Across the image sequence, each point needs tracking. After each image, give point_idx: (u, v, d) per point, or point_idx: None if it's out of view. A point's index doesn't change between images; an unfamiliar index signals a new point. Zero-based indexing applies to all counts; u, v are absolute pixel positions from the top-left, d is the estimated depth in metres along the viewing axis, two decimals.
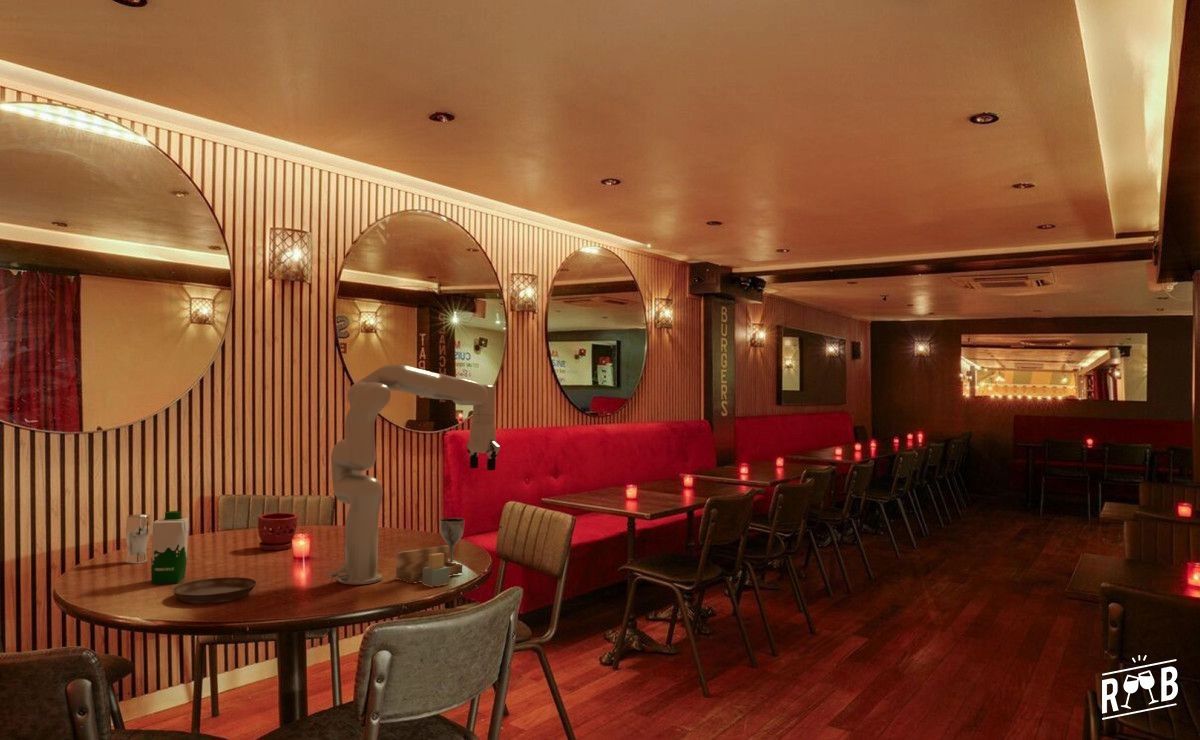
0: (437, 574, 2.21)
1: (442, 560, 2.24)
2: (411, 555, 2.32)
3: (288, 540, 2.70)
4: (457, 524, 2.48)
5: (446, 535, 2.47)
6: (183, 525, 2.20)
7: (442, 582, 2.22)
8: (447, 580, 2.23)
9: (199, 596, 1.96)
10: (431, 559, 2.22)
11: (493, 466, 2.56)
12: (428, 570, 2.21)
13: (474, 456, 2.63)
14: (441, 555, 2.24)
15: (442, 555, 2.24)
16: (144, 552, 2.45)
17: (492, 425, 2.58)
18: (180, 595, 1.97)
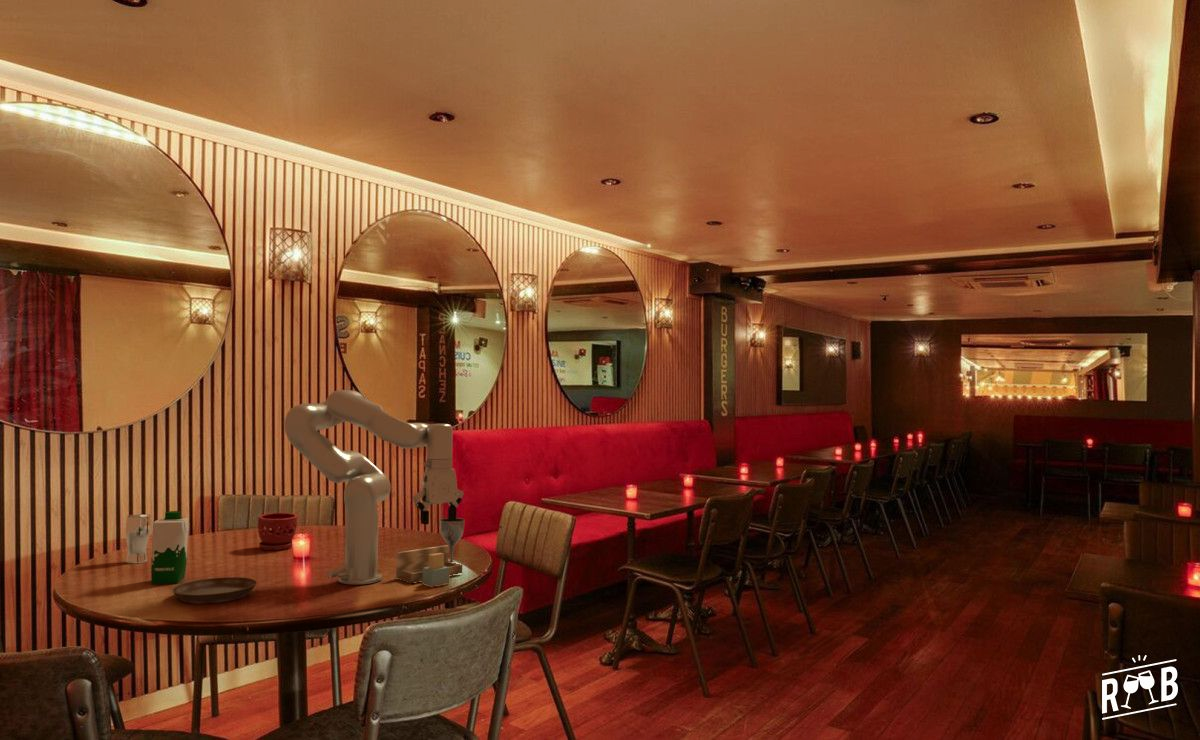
0: (437, 574, 2.21)
1: (442, 560, 2.24)
2: (411, 555, 2.32)
3: (288, 540, 2.70)
4: (457, 524, 2.48)
5: (446, 535, 2.47)
6: (183, 525, 2.20)
7: (442, 582, 2.22)
8: (447, 580, 2.23)
9: (199, 596, 1.96)
10: (431, 559, 2.22)
11: None
12: (428, 570, 2.21)
13: None
14: (441, 555, 2.24)
15: (442, 555, 2.24)
16: (144, 552, 2.45)
17: None
18: (180, 595, 1.97)
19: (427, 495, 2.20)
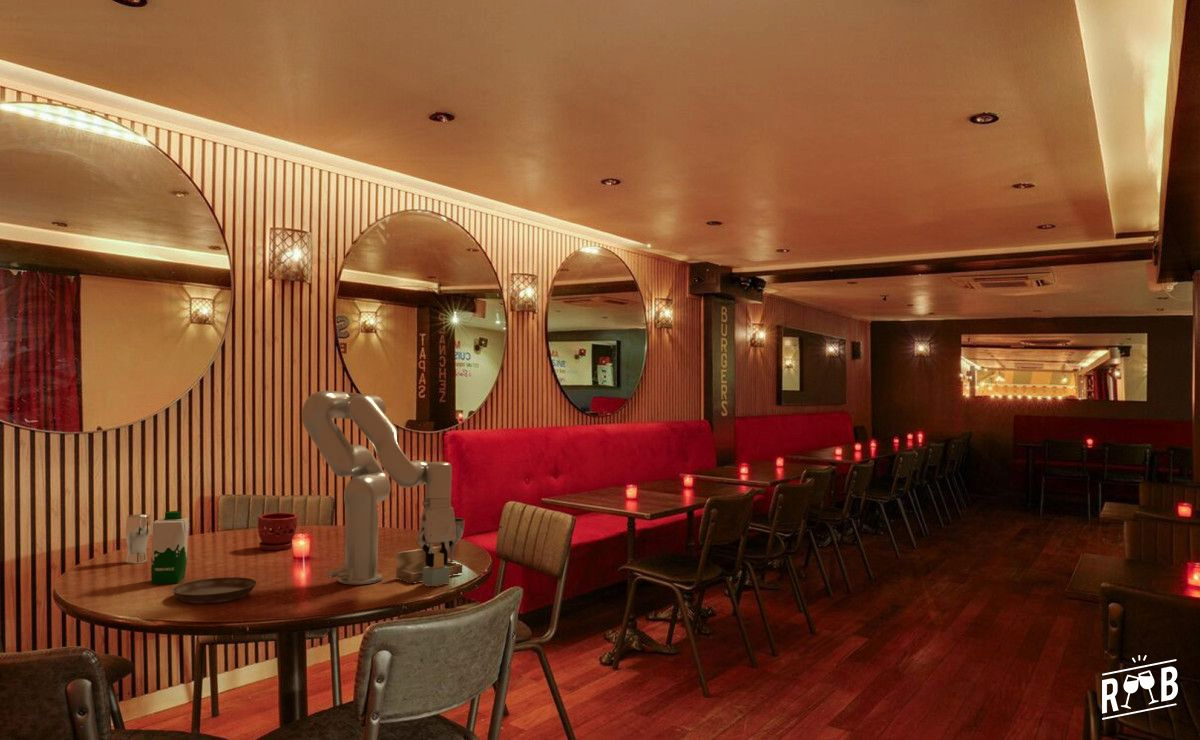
0: (437, 573, 2.21)
1: (442, 560, 2.24)
2: (411, 555, 2.32)
3: (288, 540, 2.70)
4: (457, 524, 2.48)
5: None
6: (183, 525, 2.20)
7: (442, 582, 2.22)
8: (447, 580, 2.23)
9: (199, 596, 1.96)
10: None
11: None
12: (428, 570, 2.21)
13: None
14: (441, 555, 2.24)
15: (442, 555, 2.24)
16: (144, 552, 2.45)
17: None
18: (180, 595, 1.97)
19: (425, 535, 2.19)
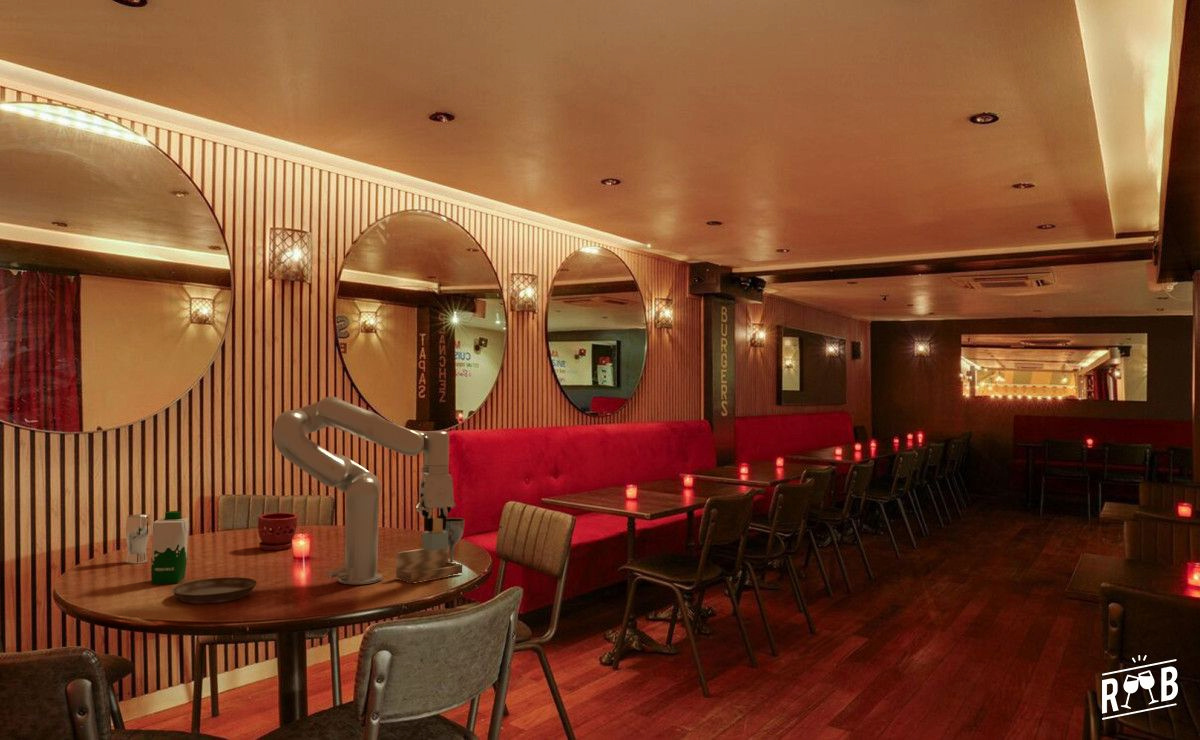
0: (436, 537, 2.29)
1: (441, 525, 2.32)
2: (411, 555, 2.32)
3: (288, 540, 2.70)
4: (457, 524, 2.48)
5: None
6: (183, 525, 2.20)
7: (441, 546, 2.31)
8: (446, 544, 2.32)
9: (199, 596, 1.96)
10: None
11: None
12: (428, 534, 2.29)
13: None
14: (440, 520, 2.32)
15: (441, 520, 2.32)
16: (144, 552, 2.45)
17: None
18: (180, 595, 1.97)
19: (424, 500, 2.28)
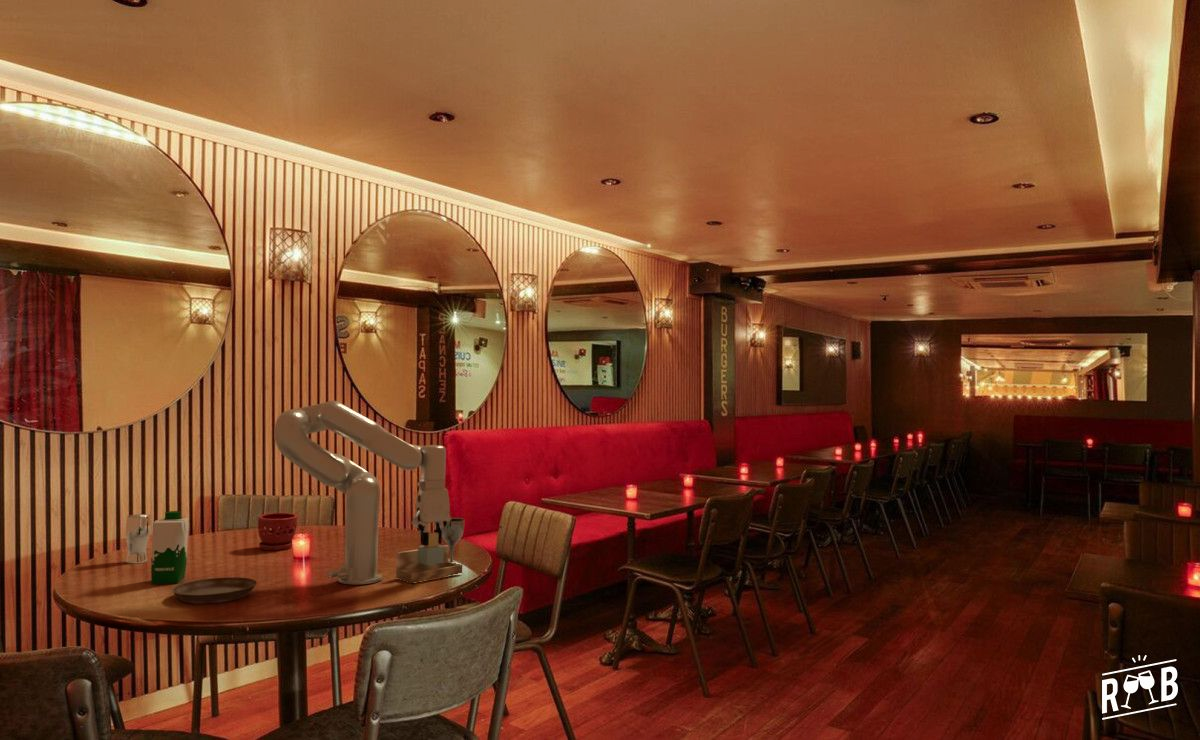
0: (432, 552, 2.30)
1: (437, 539, 2.33)
2: (411, 555, 2.32)
3: (288, 540, 2.70)
4: (457, 524, 2.48)
5: (446, 535, 2.47)
6: (183, 525, 2.20)
7: (437, 560, 2.31)
8: (442, 558, 2.33)
9: (199, 596, 1.96)
10: None
11: None
12: (423, 548, 2.30)
13: None
14: (435, 534, 2.33)
15: (437, 534, 2.33)
16: (144, 552, 2.45)
17: None
18: (180, 595, 1.97)
19: (420, 514, 2.29)
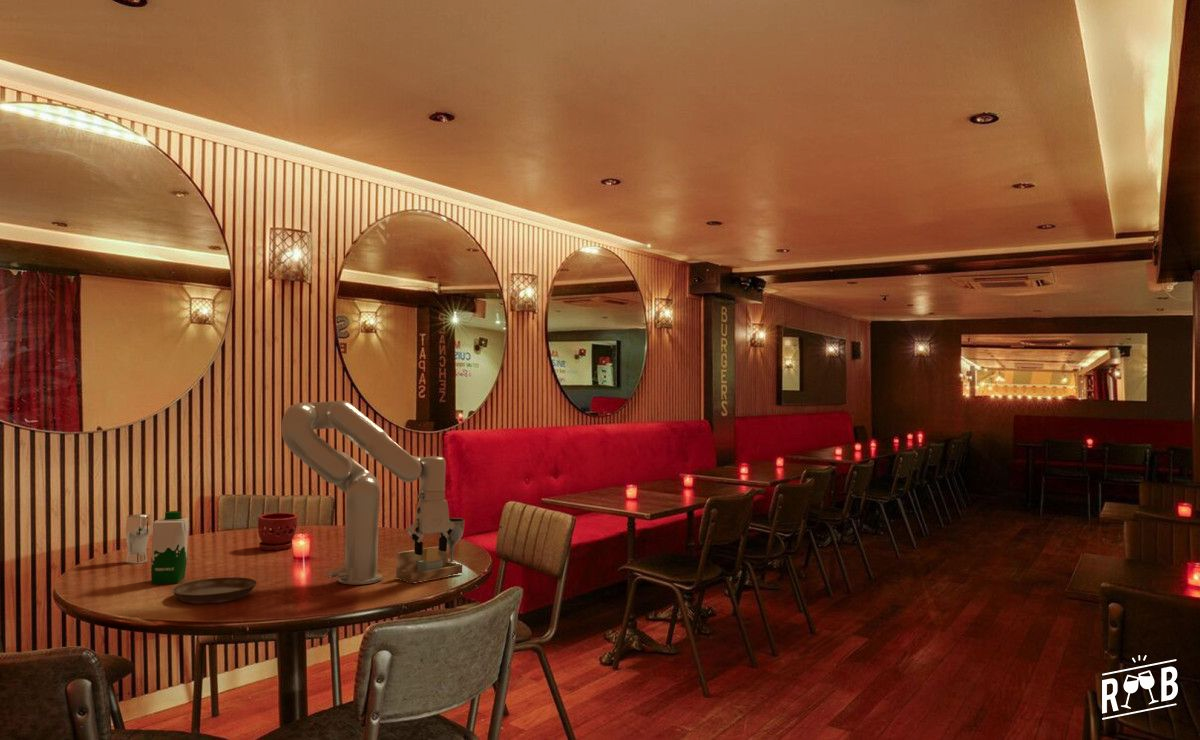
0: (431, 567, 2.30)
1: (436, 554, 2.33)
2: (411, 555, 2.32)
3: (288, 540, 2.70)
4: (457, 524, 2.48)
5: None
6: (183, 525, 2.20)
7: None
8: None
9: (199, 596, 1.96)
10: (425, 553, 2.31)
11: None
12: (422, 563, 2.30)
13: None
14: (434, 549, 2.33)
15: (436, 549, 2.33)
16: (144, 552, 2.45)
17: None
18: (180, 595, 1.97)
19: (420, 526, 2.28)
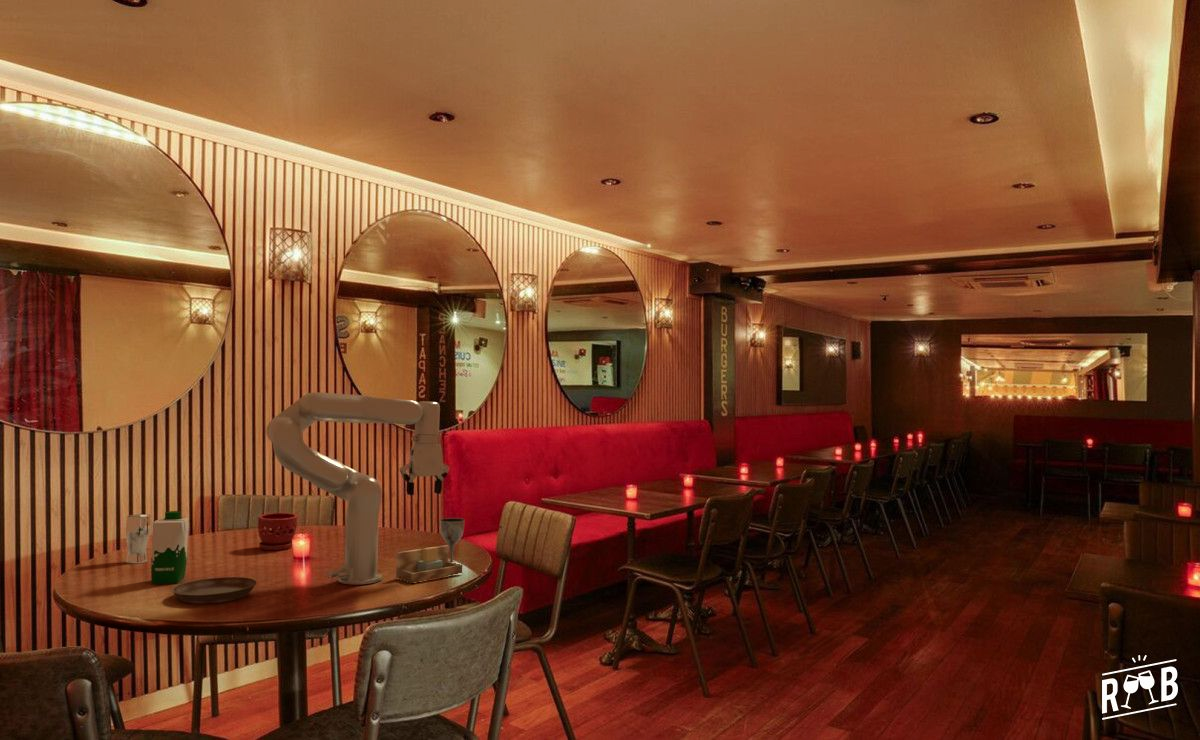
0: (431, 567, 2.30)
1: (436, 554, 2.33)
2: (411, 555, 2.32)
3: (288, 540, 2.70)
4: (457, 524, 2.48)
5: (446, 535, 2.47)
6: (183, 525, 2.20)
7: None
8: None
9: (199, 596, 1.96)
10: (425, 553, 2.31)
11: None
12: (422, 563, 2.30)
13: None
14: (434, 549, 2.33)
15: (436, 549, 2.33)
16: (144, 552, 2.45)
17: None
18: (180, 595, 1.97)
19: (413, 468, 2.34)
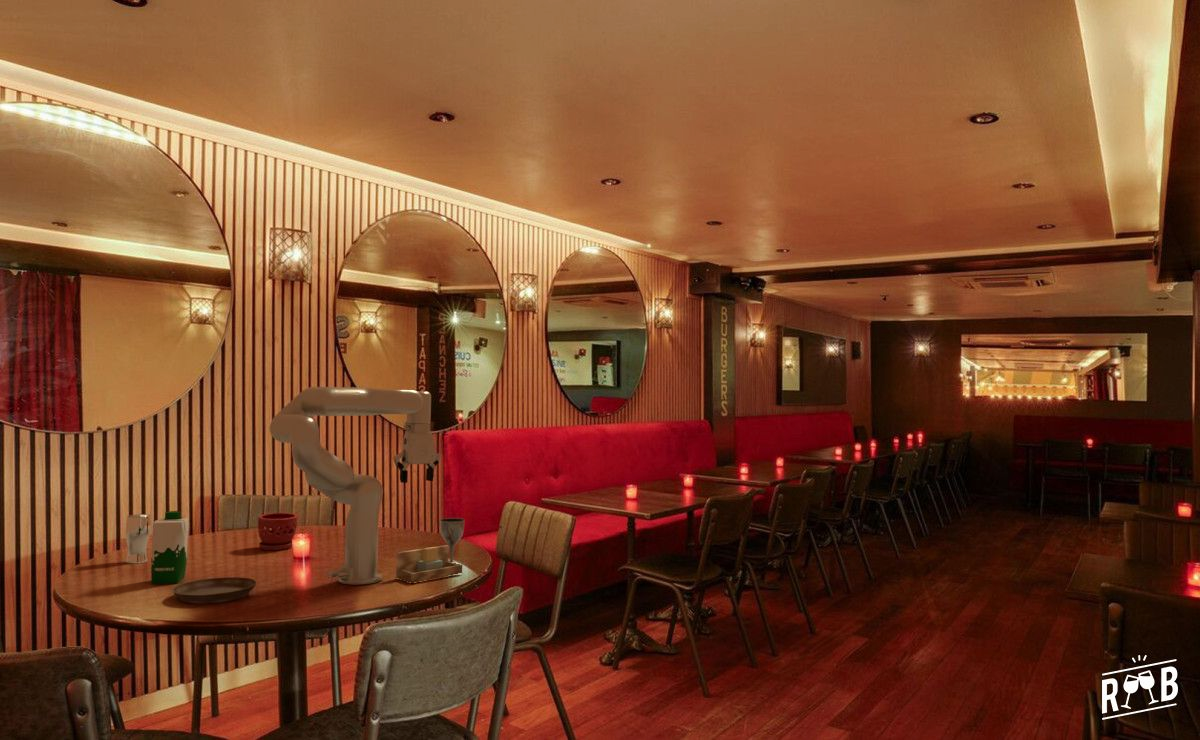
0: (431, 567, 2.30)
1: (436, 554, 2.33)
2: (411, 555, 2.32)
3: (288, 540, 2.70)
4: (457, 524, 2.48)
5: (446, 535, 2.47)
6: (183, 525, 2.20)
7: None
8: None
9: (199, 596, 1.96)
10: (425, 553, 2.31)
11: None
12: (422, 563, 2.30)
13: None
14: (434, 549, 2.33)
15: (436, 549, 2.33)
16: (144, 552, 2.45)
17: None
18: (180, 595, 1.97)
19: (406, 456, 2.39)
